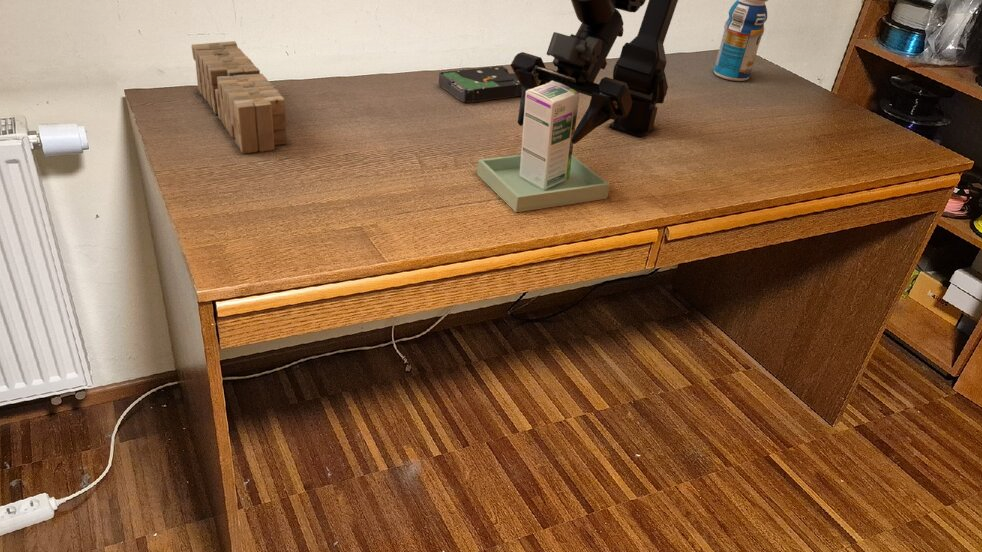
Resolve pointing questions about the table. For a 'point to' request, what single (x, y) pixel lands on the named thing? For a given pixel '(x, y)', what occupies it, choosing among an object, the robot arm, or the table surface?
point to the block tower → (240, 96)
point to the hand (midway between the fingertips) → (545, 133)
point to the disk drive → (481, 84)
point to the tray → (527, 196)
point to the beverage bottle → (741, 39)
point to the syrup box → (548, 134)
